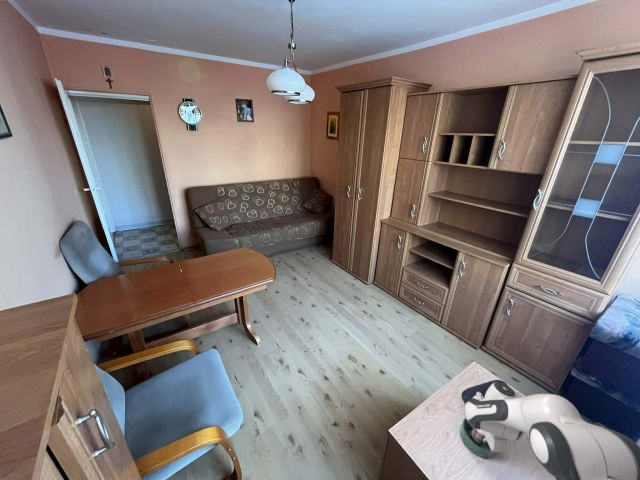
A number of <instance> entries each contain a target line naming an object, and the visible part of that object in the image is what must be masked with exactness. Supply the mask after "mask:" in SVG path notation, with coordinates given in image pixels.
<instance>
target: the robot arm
mask: <svg viewBox="0 0 640 480" xmlns="http://www.w3.org/2000/svg"><path fill="white" fill-rule="evenodd" d="M506 384H507V383H506ZM506 384H503V383H499V382H495V383H493V384H492V385H491V386H490V387H489V388H488V390H487V392H486V394H485V398H484V397H483V395H482V393H480V392H477V394H476V396H474V397H473V398H472V399H470V400H469V401H467V402H466V404H465V403H464V410H463V411H464V414H463V415H464V419H465V418H466V420H467V421H468V423H469V424H470V425H471V427H472V428H475V429H478V430H482V431H483V433H484V435H485V437H484V436H482V441H483V442H484V443H487V442H488V444H489V447H490V449H491V450H492V451H494V452H495V453H502V452H503V451H504V449H505V448H506V445H507V443H508V440H510V441H513V442H516V441H518V440H519V439H520V438H521V437H522V435H523V434H526V435H528V440H529V445H530V448H531V450H532V453H533V455H534V457H535V459H536V460H537V461H538V462H539V464H540V465H541V466H542V467H543V468H544V470H546V471H547V473H548V474H550V475H552V477H554V479H555V480H640V446H639V445H638V444H637V442H636V441H634V440H633V439H631V438H630V437H628V436H626V435H625V434H623V433H620V432H619V431H616V430H613V429H611V428H609V427H607V426H606V425H604V424H602V423H600V422H595V423H590V422H587V421H585V420H584V419H583V418H582V417H581V414H580V413H579V410H578V409H577V408H576V406H574V404H573V403H572V402H570V401H569V400H568V399H567V398H566V397H563V396H561V395H558V394H554V393H535V394H530V395H525V396H520V397H517V396H516V392H515V391H514V389H513V388H512V387H511V386H509V385H508V384H507V385H508V386H507V385H506Z"/></svg>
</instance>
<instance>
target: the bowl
mask: <svg viewBox="0 0 640 480" xmlns="http://www.w3.org/2000/svg"><path fill="white" fill-rule="evenodd" d="M472 430H473V428H472V427H471V425H470V424H469V423H468V421H467V420H466V418H465V417H464V419H463V421H462V423H461V424H460V427H459V431H458V432H459V437H460V439H461V442H462V443H463V445H464V446H465V447H466V449H468V450H469V451H470V452H471V453H473V454H474V455H475V456H477V457H480V458H486V459H488V458H491V457H492V456H494V454H495V453H496V452H494V451H492V450H491V449H490V447H489V444H488V442H487V443H483V444H479V443H477V442H475V441H474V440H473V438H472V436H471V432H472Z"/></svg>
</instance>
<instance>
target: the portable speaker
mask: <svg viewBox="0 0 640 480" xmlns="http://www.w3.org/2000/svg"><path fill="white" fill-rule="evenodd" d="M495 382H499V383H503V384H506V385H507V386H509V384H508V383H507V382H505V381H503V380H501V379H494V380H493V379H492V380H489V381H486V382H483V383H479V384H475V385H473V386H470V387H467V388H465V389H464V390H462V392H461V394H460V395H461V399H462V401H463V404H464V405H465V404H466V402H467V401H469V400H470V399H472V398H473V397H474V396H476V394H477V392H480V393H482V395H483V397H484V398H485V394H486V392H487V390H488V388H489V387H490V386H491V385H492V384H493V383H495Z"/></svg>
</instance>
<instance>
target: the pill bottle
mask: <svg viewBox="0 0 640 480" xmlns="http://www.w3.org/2000/svg"><path fill="white" fill-rule="evenodd" d="M471 436H472V438H473V440H474V441H475V442H477V443H479V444H483V443H484V442H483V441H482V436H484V437H485V435H484V433H483V431H482V430H478V429H475V428H473V430H472V432H471Z"/></svg>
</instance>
